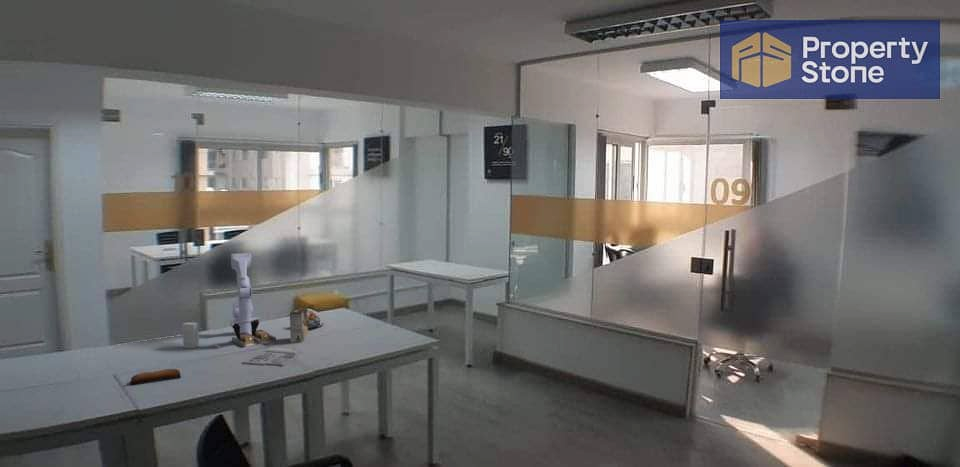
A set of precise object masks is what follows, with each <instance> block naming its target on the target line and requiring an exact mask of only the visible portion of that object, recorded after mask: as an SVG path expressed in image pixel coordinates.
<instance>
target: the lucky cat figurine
mask: <svg viewBox="0 0 960 467" xmlns="http://www.w3.org/2000/svg"><path fill="white" fill-rule="evenodd" d="M306 309H307V314H308V329H310V328H319V327H321V328H322V327H323V326H324V321H323V319H322V318H321V316H320V315H319V313H318V312H317V311H316V310H314V309H312V308H306Z"/></svg>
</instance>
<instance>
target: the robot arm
mask: <svg viewBox="0 0 960 467" xmlns="http://www.w3.org/2000/svg"><path fill="white" fill-rule="evenodd" d="M230 263H231V269H232V270H234V271H235V273H236V280H237V281H236V282H237V300H236V301H235V302H234V303H233V304H232V318H233V319H234V320H230V323H229V324H230V326H231V327H232V328H233V332H232V333H231V334H233V335H235V336H236V338H237V339H240V333H244V332H247V333H249V334H251V335H253V336H255V332H256V330H258V327H259V325H260V321H261V317H260V316H254V310H253V309H254V307H253V303H252V298H253V297H252V296H253V290H252V286H251V282H250V277H249V275H247V272H248V271H247V270H248V269H250V268H251V264H252V253H250V252H245V253H244V252H243V253H241V252H240V253H231V254H230ZM253 316H254V317H253Z"/></svg>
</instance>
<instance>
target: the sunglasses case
mask: <svg viewBox="0 0 960 467" xmlns="http://www.w3.org/2000/svg"><path fill="white" fill-rule="evenodd" d="M173 378H180V379H181V371H180V370H179V369H177V368H164V369H162V370H155V371H146V372H140V373H137V374H135V375H133V376H132V377H131V378H130V386H133V385H137V384H142V383H146V382H152V381H159V380H166V379H173Z"/></svg>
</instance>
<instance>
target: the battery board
mask: <svg viewBox="0 0 960 467" xmlns="http://www.w3.org/2000/svg"><path fill="white" fill-rule="evenodd" d="M253 340H254V343H253V344H248V345H246V343H245V342H243V341H241V340H239V339H237V337H235V336H231V342H233V343H234V344H236V345H239V346H240V347H243V348H247V347H252V346H257V345H258V346H259V345H262V344H267V343H274V342H276V341H277V337H276V336H274V335H272V334H270V333H269V341H264V342H261V339H259V338H256V337H254V336H253Z"/></svg>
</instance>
